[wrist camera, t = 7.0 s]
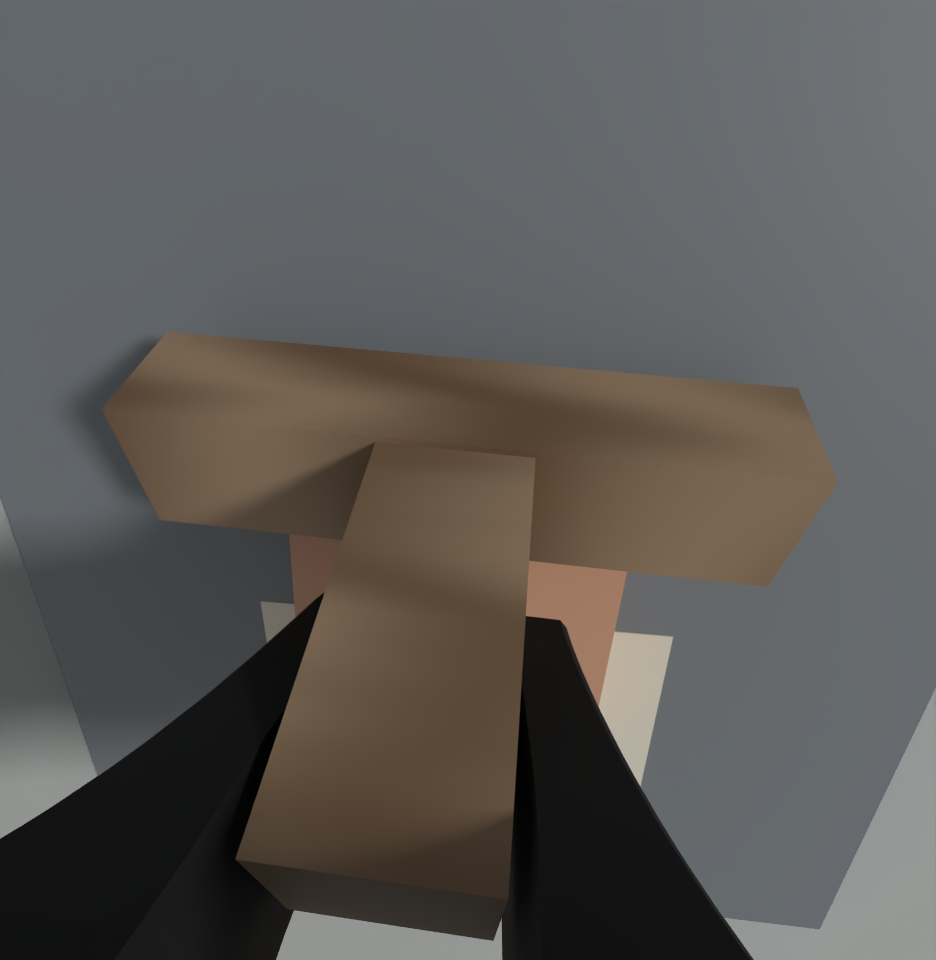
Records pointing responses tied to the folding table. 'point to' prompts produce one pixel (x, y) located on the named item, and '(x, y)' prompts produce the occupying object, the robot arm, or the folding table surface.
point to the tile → (550, 594)
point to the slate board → (500, 336)
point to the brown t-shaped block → (445, 571)
